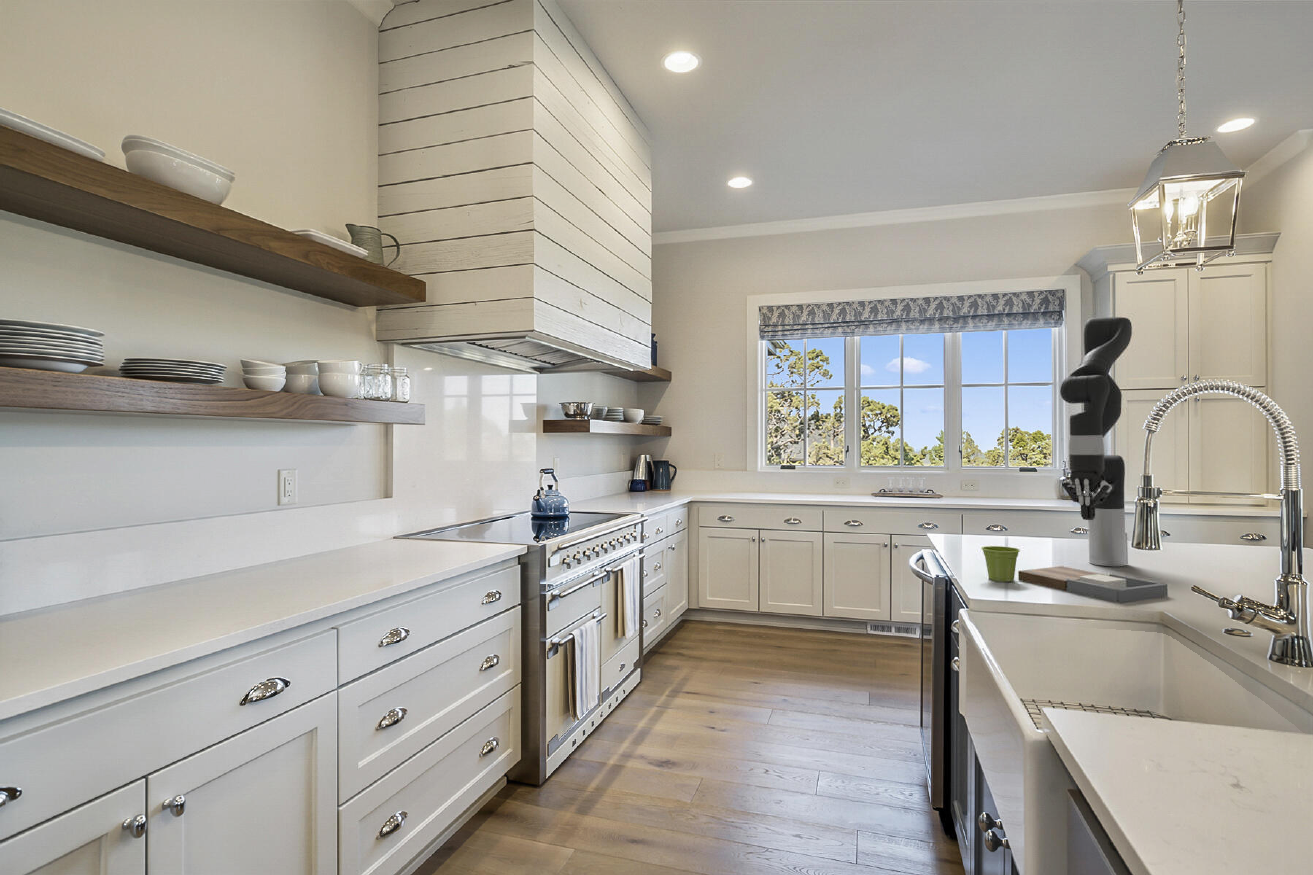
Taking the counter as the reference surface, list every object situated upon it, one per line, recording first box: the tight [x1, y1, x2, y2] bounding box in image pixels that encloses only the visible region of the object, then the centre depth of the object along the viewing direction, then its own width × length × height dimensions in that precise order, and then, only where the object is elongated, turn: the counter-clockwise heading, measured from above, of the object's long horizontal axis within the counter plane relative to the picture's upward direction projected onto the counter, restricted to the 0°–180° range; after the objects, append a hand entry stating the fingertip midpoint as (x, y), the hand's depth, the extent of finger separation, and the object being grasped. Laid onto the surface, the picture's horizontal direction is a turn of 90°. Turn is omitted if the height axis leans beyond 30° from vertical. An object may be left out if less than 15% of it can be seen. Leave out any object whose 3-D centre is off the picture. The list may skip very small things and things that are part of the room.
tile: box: [1079, 573, 1126, 589], centre depth 163 cm, size 7×7×2 cm
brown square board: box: [1017, 565, 1110, 592], centre depth 174 cm, size 16×14×2 cm
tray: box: [1066, 573, 1169, 604], centre depth 160 cm, size 16×14×3 cm
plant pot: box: [981, 545, 1021, 583], centre depth 178 cm, size 9×9×9 cm
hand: (1088, 519), depth 167 cm, fingers closed
